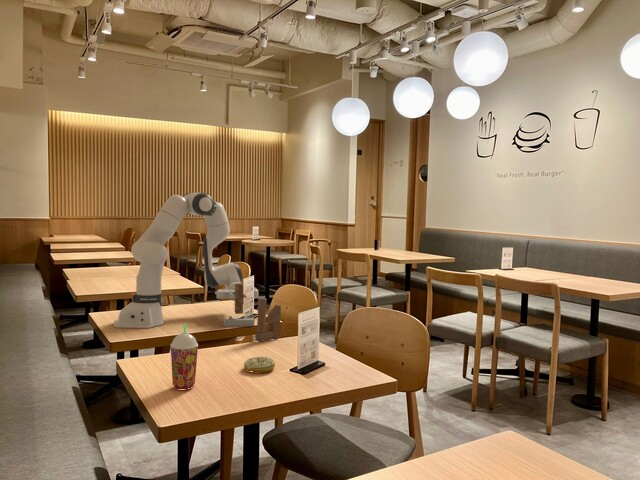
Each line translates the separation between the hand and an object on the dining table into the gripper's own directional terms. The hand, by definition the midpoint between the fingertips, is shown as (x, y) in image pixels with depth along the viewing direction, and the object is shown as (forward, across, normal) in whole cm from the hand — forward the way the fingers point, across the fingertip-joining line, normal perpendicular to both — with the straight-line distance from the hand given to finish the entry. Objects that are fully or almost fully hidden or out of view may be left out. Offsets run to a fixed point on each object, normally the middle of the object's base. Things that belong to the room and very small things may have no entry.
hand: (239, 296), depth 253 cm
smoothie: (+84, -28, +13) cm, 89 cm away
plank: (-1, 0, +8) cm, 8 cm away
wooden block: (+30, +9, +13) cm, 34 cm away
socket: (+1, 0, +13) cm, 13 cm away
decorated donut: (+70, -1, +13) cm, 71 cm away
